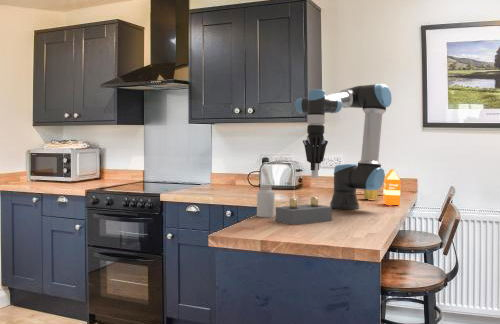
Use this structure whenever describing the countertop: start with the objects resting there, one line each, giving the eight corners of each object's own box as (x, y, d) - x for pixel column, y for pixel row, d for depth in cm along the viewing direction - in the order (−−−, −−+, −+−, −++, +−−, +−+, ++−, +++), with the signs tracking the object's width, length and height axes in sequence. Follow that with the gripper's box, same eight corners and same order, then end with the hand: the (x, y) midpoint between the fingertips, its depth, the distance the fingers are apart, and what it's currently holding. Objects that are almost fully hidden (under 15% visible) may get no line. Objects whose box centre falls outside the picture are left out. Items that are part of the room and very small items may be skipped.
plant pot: (358, 199, 296) (358, 183, 295) (373, 198, 299) (373, 182, 298) (367, 201, 286) (367, 184, 285) (382, 200, 289) (383, 184, 289)
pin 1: (293, 210, 213) (293, 198, 212) (298, 211, 210) (298, 199, 210) (287, 211, 211) (288, 198, 211) (292, 212, 208) (292, 199, 208)
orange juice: (396, 204, 276) (397, 168, 275) (400, 206, 267) (401, 169, 266) (382, 203, 276) (383, 168, 275) (385, 205, 268) (386, 169, 267)
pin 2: (314, 208, 219) (314, 196, 219) (319, 209, 217) (319, 197, 216) (309, 209, 217) (309, 197, 217) (313, 210, 215) (314, 198, 215)
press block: (313, 216, 225) (314, 204, 225) (331, 220, 215) (331, 207, 215) (275, 220, 213) (275, 207, 213) (292, 224, 203) (292, 210, 203)
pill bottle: (259, 218, 220) (260, 185, 219) (254, 215, 227) (255, 183, 227) (276, 217, 222) (276, 184, 221) (270, 214, 230) (271, 183, 229)
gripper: (321, 125, 222) (320, 176, 223) (299, 124, 215) (297, 177, 216) (332, 125, 216) (331, 178, 217) (310, 124, 209) (308, 178, 210)
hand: (314, 177), depth 216 cm, fingers closed
